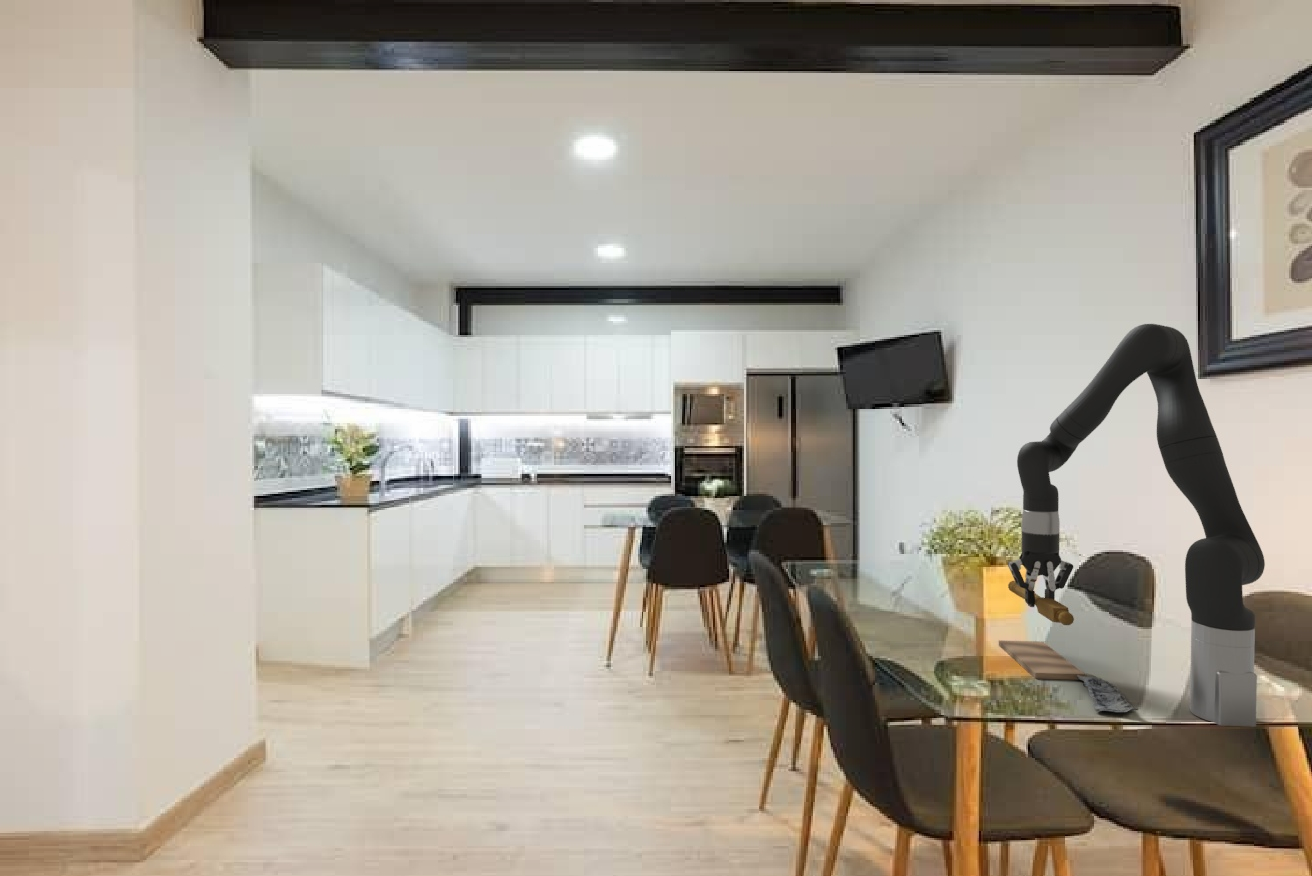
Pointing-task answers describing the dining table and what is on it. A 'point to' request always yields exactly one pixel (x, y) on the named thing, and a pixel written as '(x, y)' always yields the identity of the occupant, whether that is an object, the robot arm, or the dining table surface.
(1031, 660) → the cutting board
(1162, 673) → the dining table surface
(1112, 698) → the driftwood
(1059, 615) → the tap handle
